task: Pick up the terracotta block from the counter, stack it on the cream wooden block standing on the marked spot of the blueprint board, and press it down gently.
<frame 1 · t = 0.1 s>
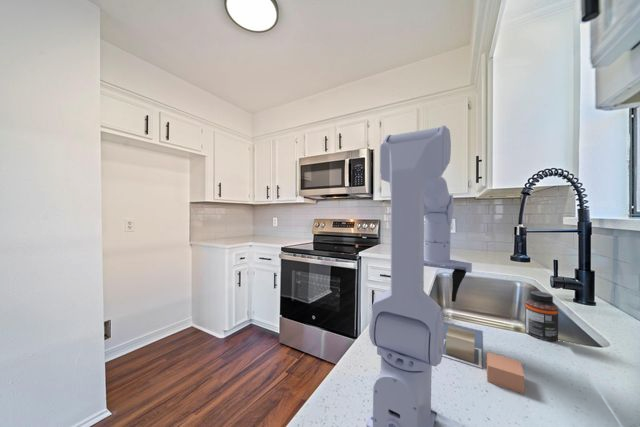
hand: (436, 296, 59), 10 cm above the worktop, tool pointing down, fingers open, 7 cm apart
can: (411, 312, 74), on the worktop
supplement bottle: (540, 340, 59), on the worktop
blueprint board: (447, 342, 57), on the worktop
cream block: (460, 352, 51), point 1 cm above the worktop, touching blueprint board
terracotta block: (503, 385, 43), on the worktop
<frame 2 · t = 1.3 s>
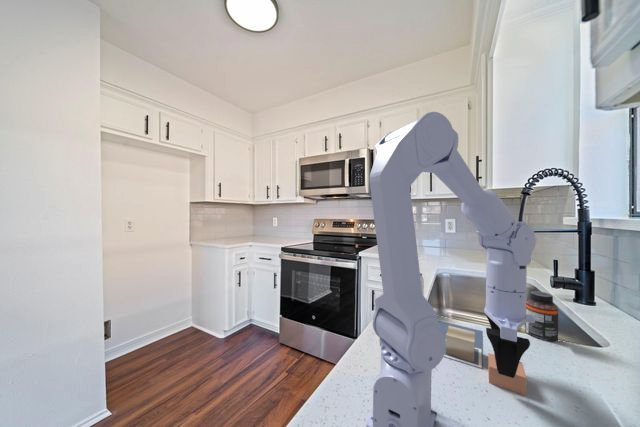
hand: (504, 362, 43), 4 cm above the worktop, tool pointing down, fingers open, 7 cm apart
nothing on the worktop moved.
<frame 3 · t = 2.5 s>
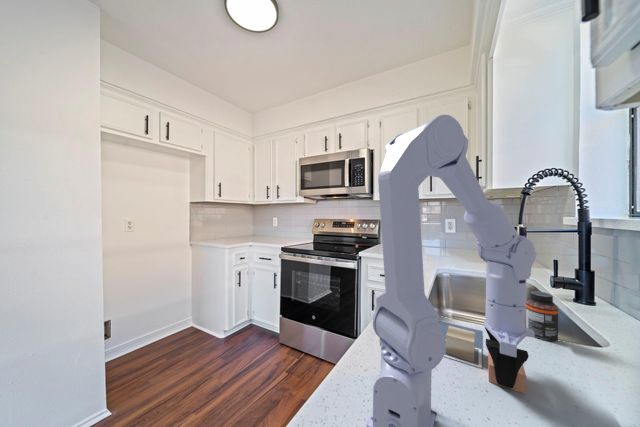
hand: (503, 376, 43), 1 cm above the worktop, tool pointing down, fingers closed on terracotta block, 5 cm apart
terracotta block: (505, 384, 43), on the worktop, touching gripper
everything else where it was.
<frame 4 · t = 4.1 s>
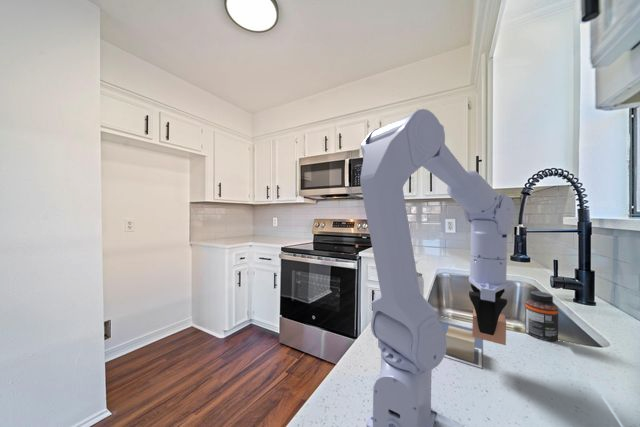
hand: (486, 327, 46), 9 cm above the worktop, tool pointing down, fingers closed on terracotta block, 5 cm apart
terracotta block: (488, 335, 46), point 7 cm above the worktop, touching gripper
everything else where it was.
when the fingers open (8 cm above the worktop, at t = 5.7 s): terracotta block drops 1 cm, resting on cream block.
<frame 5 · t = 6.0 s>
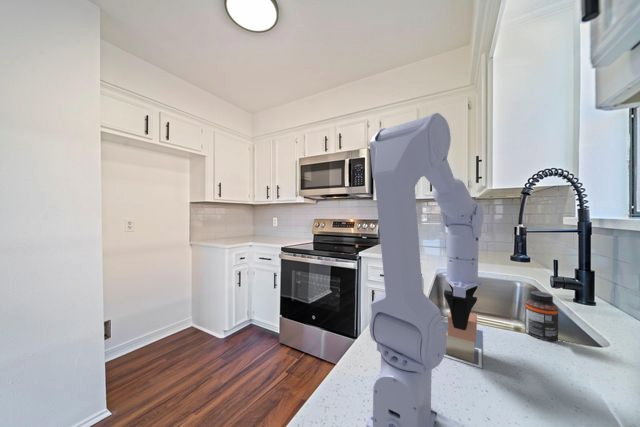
hand: (460, 321, 51), 8 cm above the worktop, tool pointing down, fingers open, 7 cm apart
cream block: (460, 352, 51), point 1 cm above the worktop, touching blueprint board, terracotta block
terracotta block: (462, 333, 51), point 5 cm above the worktop, touching cream block
everything else where it was.
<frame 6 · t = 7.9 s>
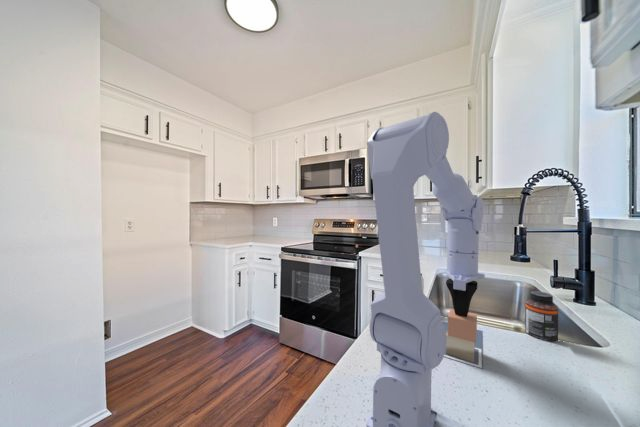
hand: (461, 315, 51), 9 cm above the worktop, tool pointing down, fingers closed, pressing on terracotta block
terracotta block: (462, 333, 51), point 5 cm above the worktop, touching cream block, gripper
everything else where it was.
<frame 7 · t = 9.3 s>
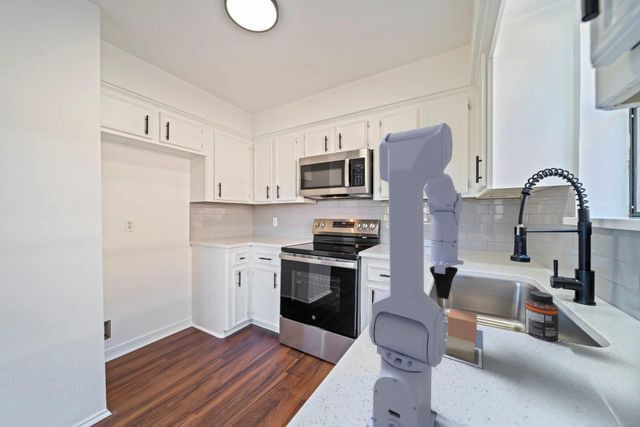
hand: (443, 297, 58), 10 cm above the worktop, tool pointing down, fingers closed
terracotta block: (462, 333, 51), point 5 cm above the worktop, touching cream block
everything else where it was.
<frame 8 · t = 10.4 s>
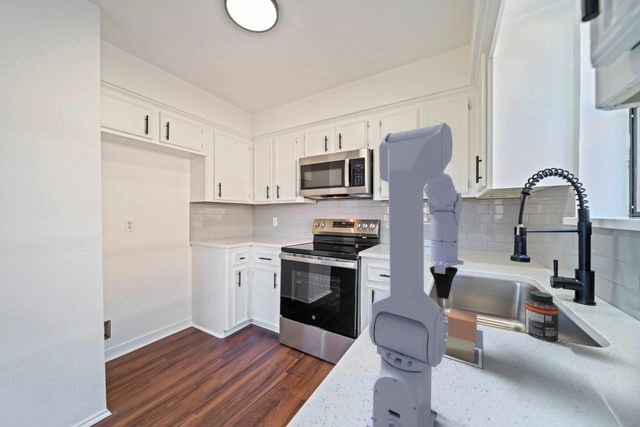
hand: (443, 297, 58), 10 cm above the worktop, tool pointing down, fingers closed
nothing on the worktop moved.
at the end: terracotta block 0.3 cm off-centre on the cream block, point 4.0 cm above the cream block's base; terracotta block tilted 0°; cream block moved 0.0 cm from its start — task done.
